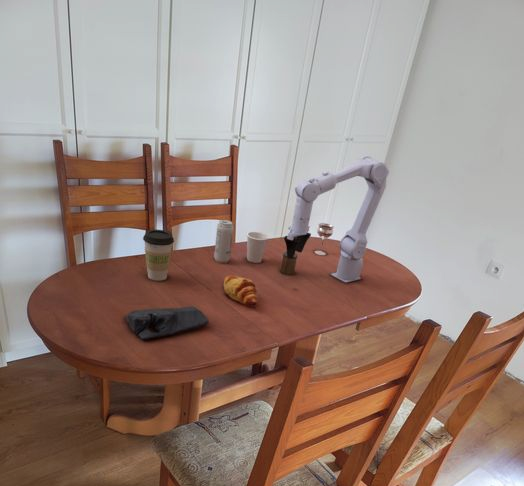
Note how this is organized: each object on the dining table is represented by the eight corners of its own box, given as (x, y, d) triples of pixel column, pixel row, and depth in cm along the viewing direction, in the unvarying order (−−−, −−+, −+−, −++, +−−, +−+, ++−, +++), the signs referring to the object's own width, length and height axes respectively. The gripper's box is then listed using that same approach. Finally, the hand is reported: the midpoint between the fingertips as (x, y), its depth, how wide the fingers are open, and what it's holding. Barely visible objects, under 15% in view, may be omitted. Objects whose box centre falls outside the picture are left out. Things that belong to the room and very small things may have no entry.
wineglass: (312, 248, 208) (318, 222, 201) (327, 251, 208) (333, 224, 201) (312, 254, 202) (318, 226, 196) (327, 257, 202) (334, 229, 196)
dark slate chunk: (214, 332, 135) (215, 318, 133) (137, 343, 125) (138, 327, 122) (194, 307, 146) (195, 293, 144) (122, 315, 136) (122, 300, 133)
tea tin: (287, 268, 185) (290, 250, 181) (297, 273, 181) (300, 256, 178) (277, 270, 181) (280, 252, 178) (286, 275, 178) (290, 258, 174)
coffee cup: (136, 277, 158) (136, 233, 150) (153, 268, 166) (154, 226, 158) (161, 285, 155) (163, 242, 147) (177, 276, 163) (179, 234, 155)
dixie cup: (249, 264, 182) (253, 239, 176) (240, 256, 188) (243, 231, 182) (268, 263, 186) (272, 238, 180) (258, 255, 192) (262, 231, 186)
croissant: (218, 291, 166) (209, 273, 160) (242, 277, 167) (234, 259, 162) (246, 319, 151) (238, 301, 145) (272, 303, 152) (265, 284, 147)
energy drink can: (229, 264, 179) (233, 225, 171) (213, 262, 178) (217, 223, 170) (230, 258, 184) (234, 220, 176) (214, 256, 184) (218, 218, 176)
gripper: (299, 210, 171) (292, 246, 178) (282, 218, 159) (275, 256, 167) (317, 215, 168) (309, 251, 176) (301, 224, 157) (293, 262, 164)
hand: (294, 254), depth 171 cm, fingers open, 7 cm apart
